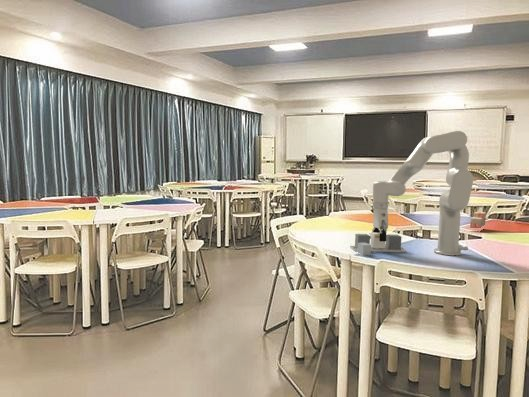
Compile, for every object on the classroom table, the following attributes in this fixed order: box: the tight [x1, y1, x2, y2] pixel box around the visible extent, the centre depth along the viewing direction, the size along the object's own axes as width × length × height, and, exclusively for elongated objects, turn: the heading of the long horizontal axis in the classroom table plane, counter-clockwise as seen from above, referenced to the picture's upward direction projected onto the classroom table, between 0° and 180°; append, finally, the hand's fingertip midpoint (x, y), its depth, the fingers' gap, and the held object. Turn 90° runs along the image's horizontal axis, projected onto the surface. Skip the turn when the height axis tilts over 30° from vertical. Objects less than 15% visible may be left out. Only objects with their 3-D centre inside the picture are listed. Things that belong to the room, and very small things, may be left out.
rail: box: [349, 233, 407, 253], centre depth 217 cm, size 26×9×8 cm, turn 93°
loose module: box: [370, 231, 386, 248], centre depth 217 cm, size 6×5×7 cm
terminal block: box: [356, 243, 372, 256], centre depth 206 cm, size 4×6×5 cm, turn 14°
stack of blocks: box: [469, 211, 487, 229], centre depth 296 cm, size 21×6×12 cm, turn 145°
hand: (379, 239), depth 217 cm, fingers open, 9 cm apart
